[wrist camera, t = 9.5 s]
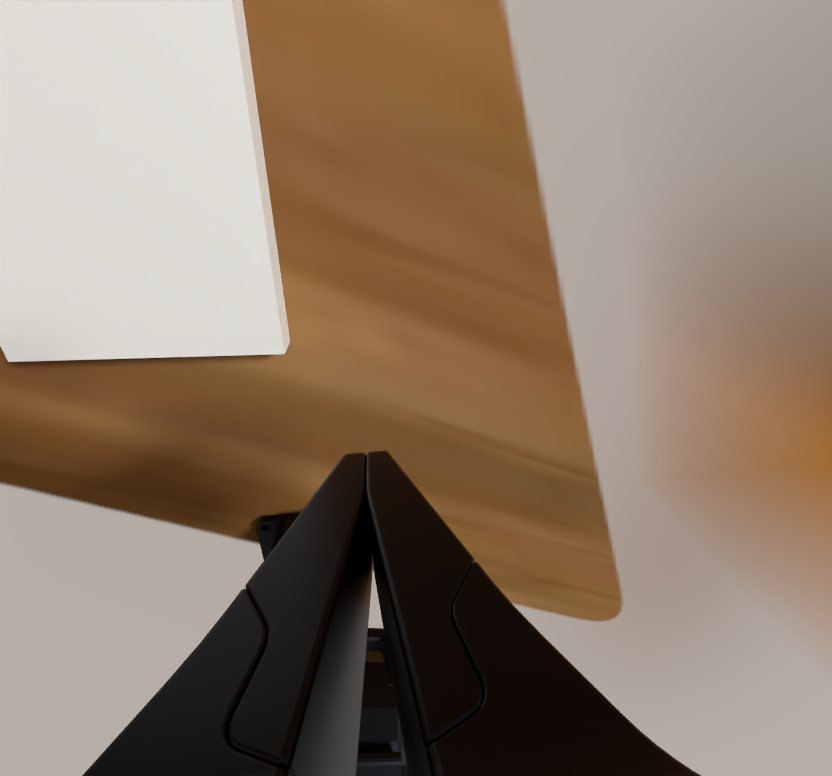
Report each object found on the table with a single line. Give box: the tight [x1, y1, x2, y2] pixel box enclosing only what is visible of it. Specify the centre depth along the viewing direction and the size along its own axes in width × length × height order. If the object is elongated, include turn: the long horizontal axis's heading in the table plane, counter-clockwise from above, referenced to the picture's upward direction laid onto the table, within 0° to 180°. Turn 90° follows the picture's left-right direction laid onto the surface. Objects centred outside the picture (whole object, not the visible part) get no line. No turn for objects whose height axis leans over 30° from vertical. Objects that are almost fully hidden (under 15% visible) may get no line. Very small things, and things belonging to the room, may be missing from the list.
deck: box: [0, 0, 290, 362], centre depth 13 cm, size 18×11×2 cm, turn 179°
